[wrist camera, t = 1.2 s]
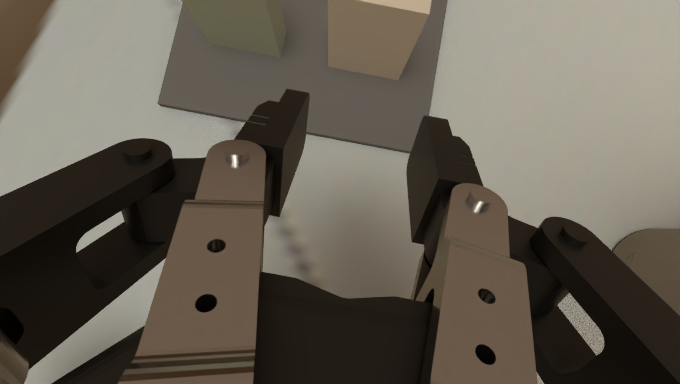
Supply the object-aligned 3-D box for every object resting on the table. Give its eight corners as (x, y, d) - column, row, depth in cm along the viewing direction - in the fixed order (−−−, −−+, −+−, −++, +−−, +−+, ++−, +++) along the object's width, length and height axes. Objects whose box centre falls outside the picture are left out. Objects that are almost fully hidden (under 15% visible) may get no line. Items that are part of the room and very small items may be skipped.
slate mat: (448, -19, 31) (451, -24, 30) (420, 155, 29) (422, 153, 28) (204, -67, 30) (202, -73, 30) (161, 106, 29) (157, 103, 28)
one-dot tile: (287, 28, 29) (268, -60, 20) (280, 57, 29) (259, -19, 20) (216, 14, 29) (167, -80, 20) (209, 44, 29) (156, -39, 20)
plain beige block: (403, 50, 29) (436, -28, 20) (398, 80, 29) (429, 14, 20) (333, 37, 29) (335, -47, 20) (327, 66, 29) (327, -6, 20)
